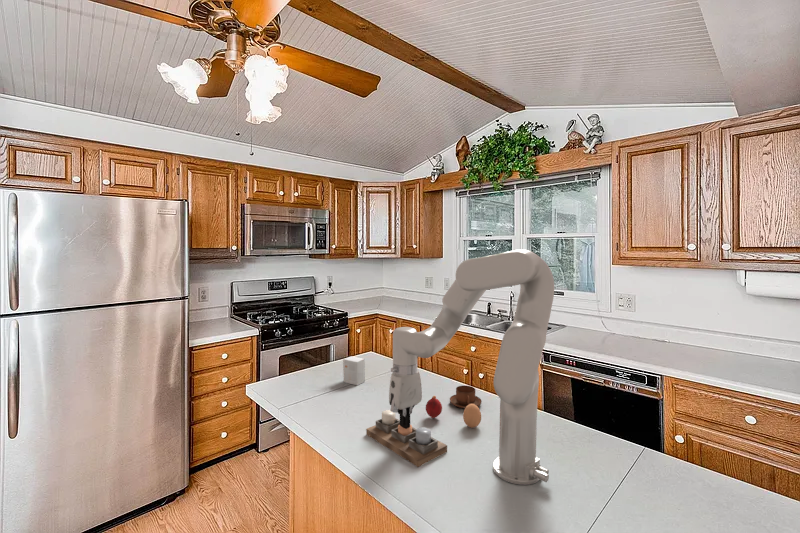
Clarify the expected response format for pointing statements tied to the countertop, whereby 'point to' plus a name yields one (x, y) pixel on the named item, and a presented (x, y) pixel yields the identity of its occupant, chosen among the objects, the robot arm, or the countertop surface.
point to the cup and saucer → (465, 397)
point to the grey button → (423, 436)
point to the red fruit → (433, 407)
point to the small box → (354, 370)
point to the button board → (405, 443)
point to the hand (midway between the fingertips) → (404, 426)
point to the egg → (472, 416)
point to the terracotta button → (404, 430)
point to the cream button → (388, 417)
